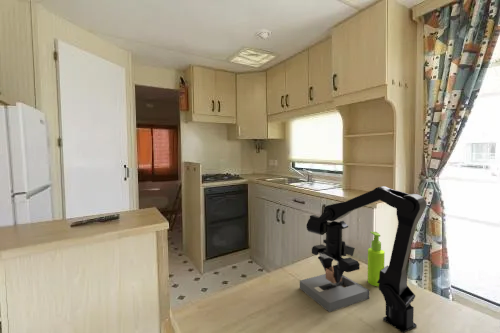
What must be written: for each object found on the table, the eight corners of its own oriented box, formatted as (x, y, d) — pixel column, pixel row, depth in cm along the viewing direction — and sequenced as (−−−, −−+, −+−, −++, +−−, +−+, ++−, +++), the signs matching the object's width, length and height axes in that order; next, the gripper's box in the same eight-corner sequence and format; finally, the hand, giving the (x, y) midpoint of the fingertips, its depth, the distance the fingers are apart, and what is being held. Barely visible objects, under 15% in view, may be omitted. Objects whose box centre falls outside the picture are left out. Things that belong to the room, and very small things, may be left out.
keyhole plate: (336, 278, 101) (336, 271, 101) (369, 298, 86) (369, 290, 86) (299, 288, 93) (299, 280, 93) (329, 312, 79) (329, 303, 78)
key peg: (342, 293, 89) (342, 270, 88) (333, 296, 87) (333, 272, 87) (333, 287, 93) (333, 265, 92) (324, 290, 91) (324, 267, 91)
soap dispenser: (379, 278, 101) (379, 230, 100) (386, 287, 94) (387, 236, 93) (364, 277, 101) (365, 230, 101) (370, 286, 95) (371, 235, 94)
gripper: (371, 242, 84) (370, 287, 84) (332, 228, 101) (332, 265, 101) (347, 247, 79) (346, 294, 80) (310, 232, 96) (310, 270, 97)
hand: (333, 279), depth 90 cm, fingers closed on key peg, 4 cm apart
